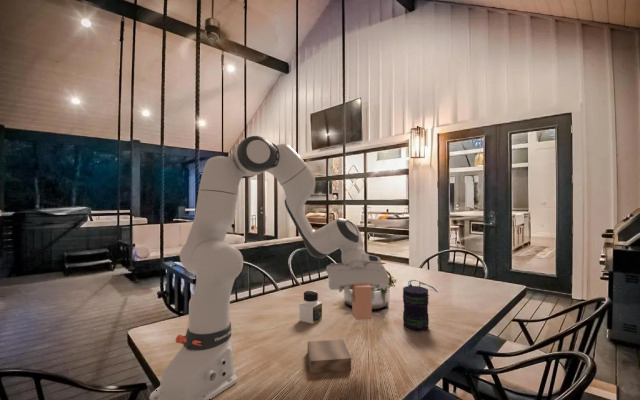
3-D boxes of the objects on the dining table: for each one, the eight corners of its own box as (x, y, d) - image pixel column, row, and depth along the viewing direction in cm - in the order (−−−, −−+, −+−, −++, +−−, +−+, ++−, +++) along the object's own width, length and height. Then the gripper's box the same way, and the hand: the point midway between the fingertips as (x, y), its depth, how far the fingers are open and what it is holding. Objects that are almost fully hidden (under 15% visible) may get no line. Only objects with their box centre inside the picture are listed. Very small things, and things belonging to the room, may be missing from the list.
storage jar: (405, 319, 123) (405, 284, 123) (430, 324, 118) (429, 287, 119) (401, 329, 114) (400, 291, 114) (427, 333, 109) (427, 294, 110)
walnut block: (310, 374, 84) (310, 361, 84) (307, 353, 96) (307, 341, 96) (351, 371, 85) (351, 358, 86) (343, 351, 97) (342, 339, 97)
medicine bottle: (313, 324, 118) (313, 295, 119) (299, 320, 122) (299, 292, 122) (322, 318, 124) (322, 290, 125) (308, 315, 128) (308, 288, 128)
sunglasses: (415, 286, 174) (416, 278, 174) (439, 294, 163) (440, 285, 163) (402, 290, 165) (403, 282, 165) (427, 299, 154) (428, 290, 154)
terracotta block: (371, 319, 90) (371, 286, 90) (355, 319, 89) (356, 287, 89) (367, 313, 95) (367, 282, 95) (352, 313, 94) (352, 283, 94)
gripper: (326, 258, 98) (330, 296, 88) (384, 257, 100) (395, 294, 91) (324, 268, 102) (328, 305, 92) (380, 267, 105) (390, 303, 95)
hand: (362, 300), depth 91 cm, fingers closed on terracotta block, 5 cm apart
